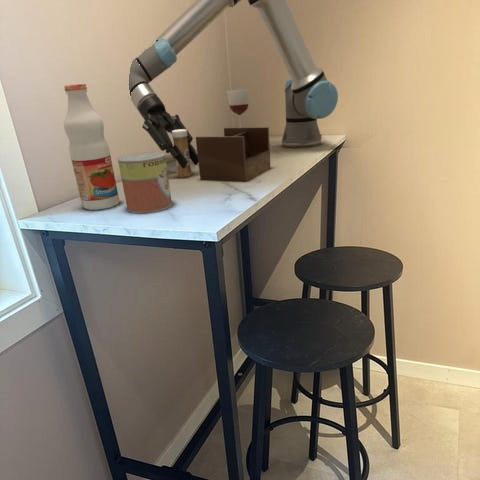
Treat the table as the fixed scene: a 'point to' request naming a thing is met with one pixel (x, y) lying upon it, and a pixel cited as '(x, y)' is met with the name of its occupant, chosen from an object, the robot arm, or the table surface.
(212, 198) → the table surface
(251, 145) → the box
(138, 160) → the canned food
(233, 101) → the wineglass
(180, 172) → the sprinkles bottle
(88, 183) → the fruit juice
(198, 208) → the table surface
